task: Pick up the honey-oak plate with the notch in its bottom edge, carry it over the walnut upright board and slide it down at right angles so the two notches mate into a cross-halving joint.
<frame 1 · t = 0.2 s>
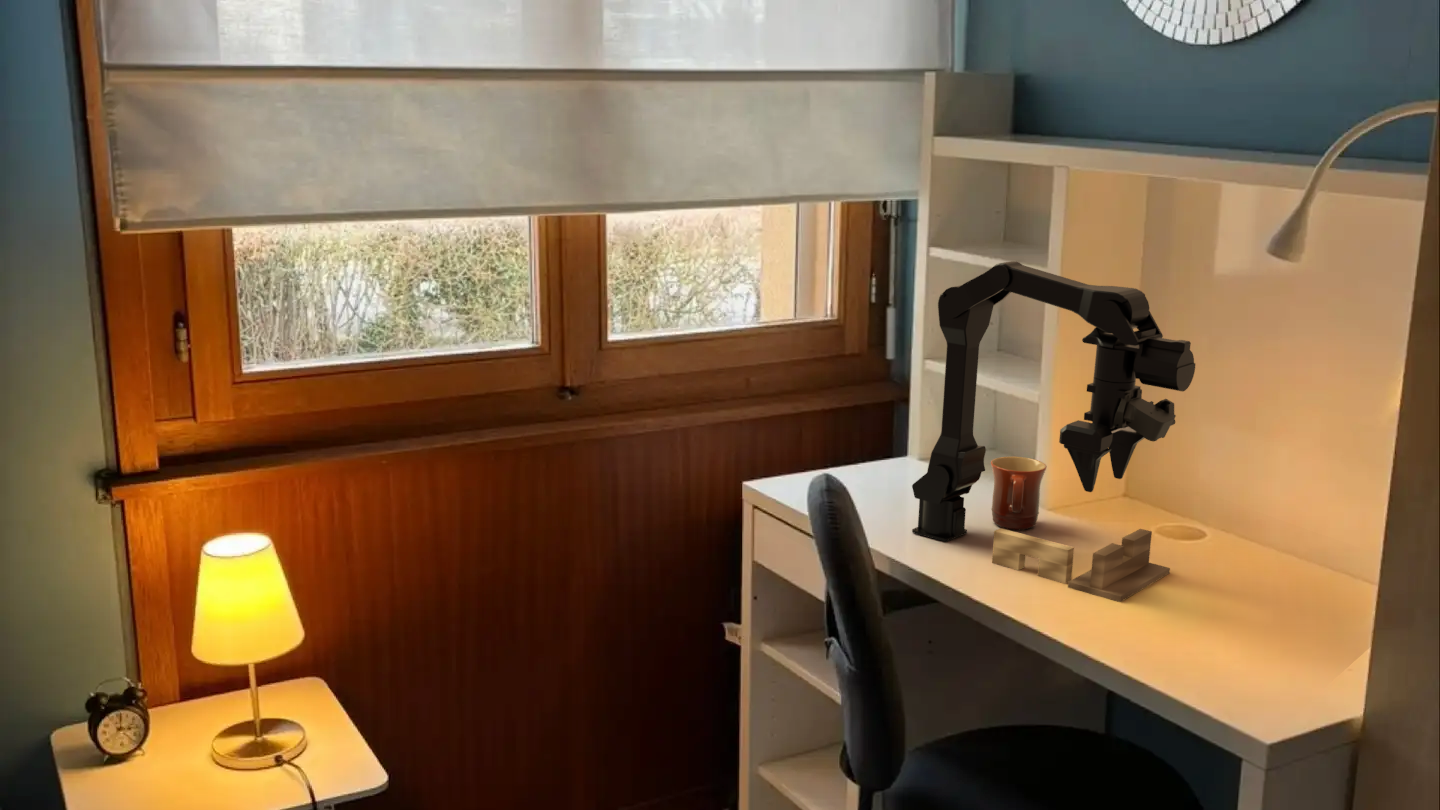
hand: (1103, 484, 198), 14 cm above the table, fingers open, 9 cm apart
joint base: (1119, 579, 200), on the table
oak plate: (1030, 571, 203), on the table
mug: (1013, 529, 222), on the table
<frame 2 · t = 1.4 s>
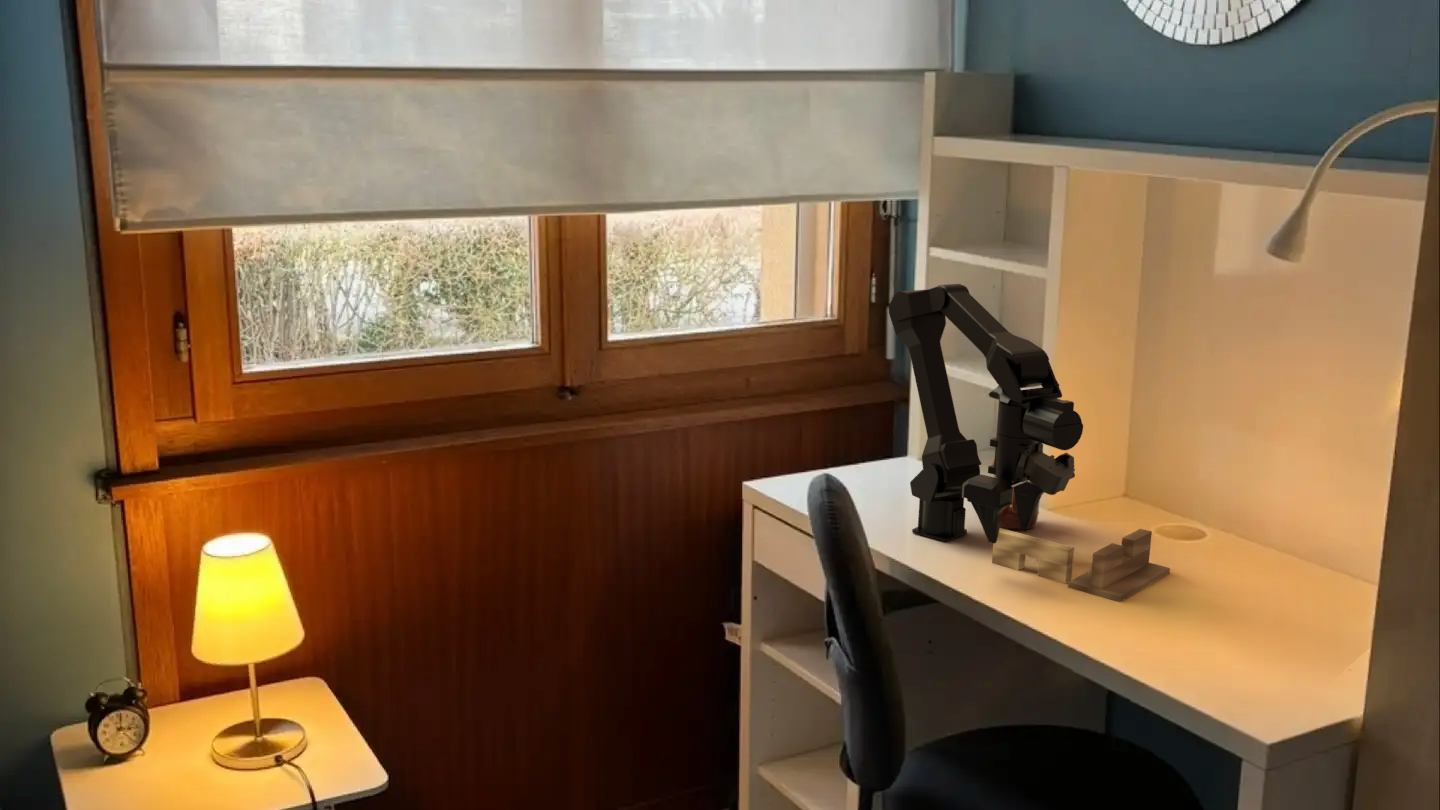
hand: (1008, 535, 204), 5 cm above the table, fingers open, 9 cm apart
nothing on the table moved.
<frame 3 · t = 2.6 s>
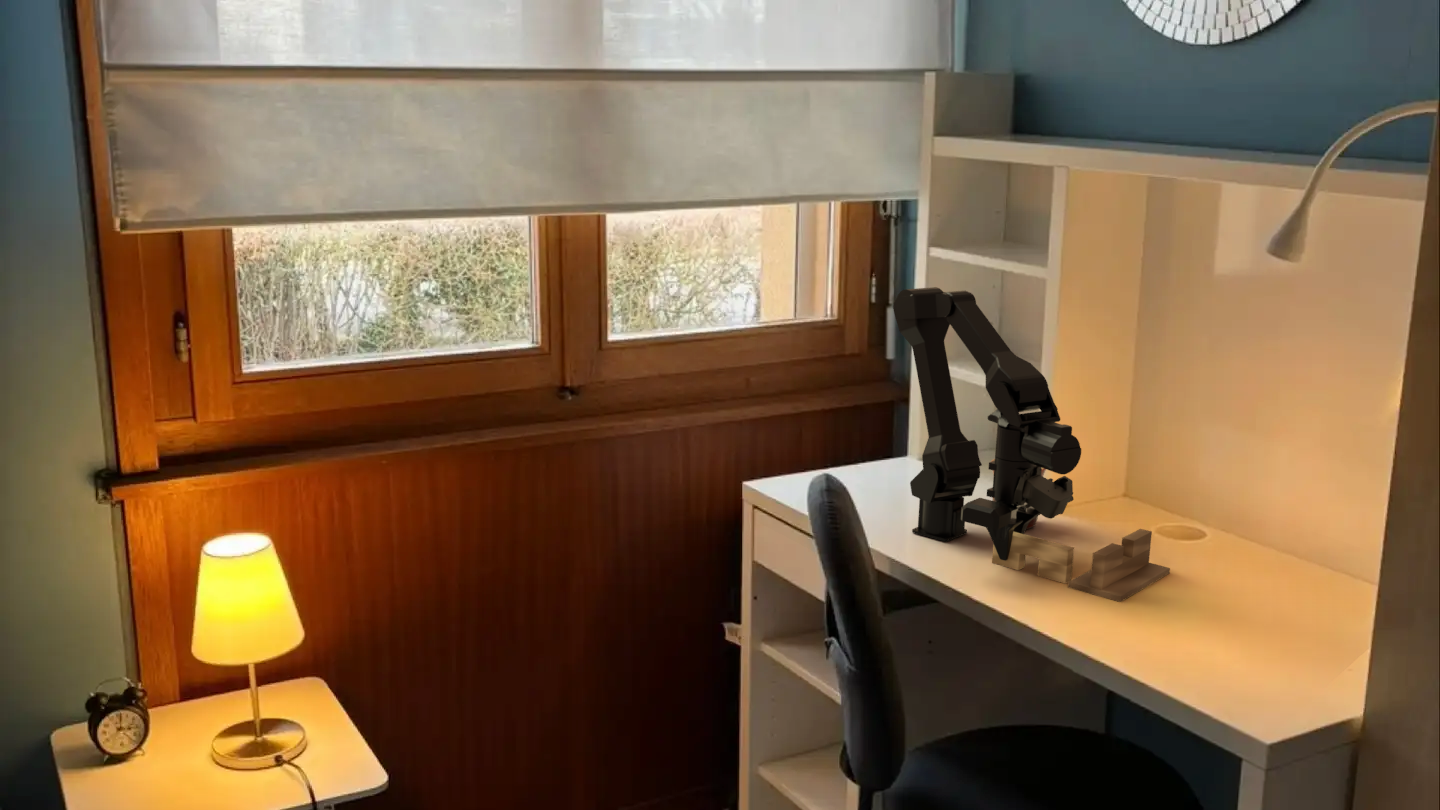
hand: (1007, 558, 205), 1 cm above the table, fingers closed on oak plate, 2 cm apart
oak plate: (1030, 571, 203), on the table, touching gripper
everything else where it was.
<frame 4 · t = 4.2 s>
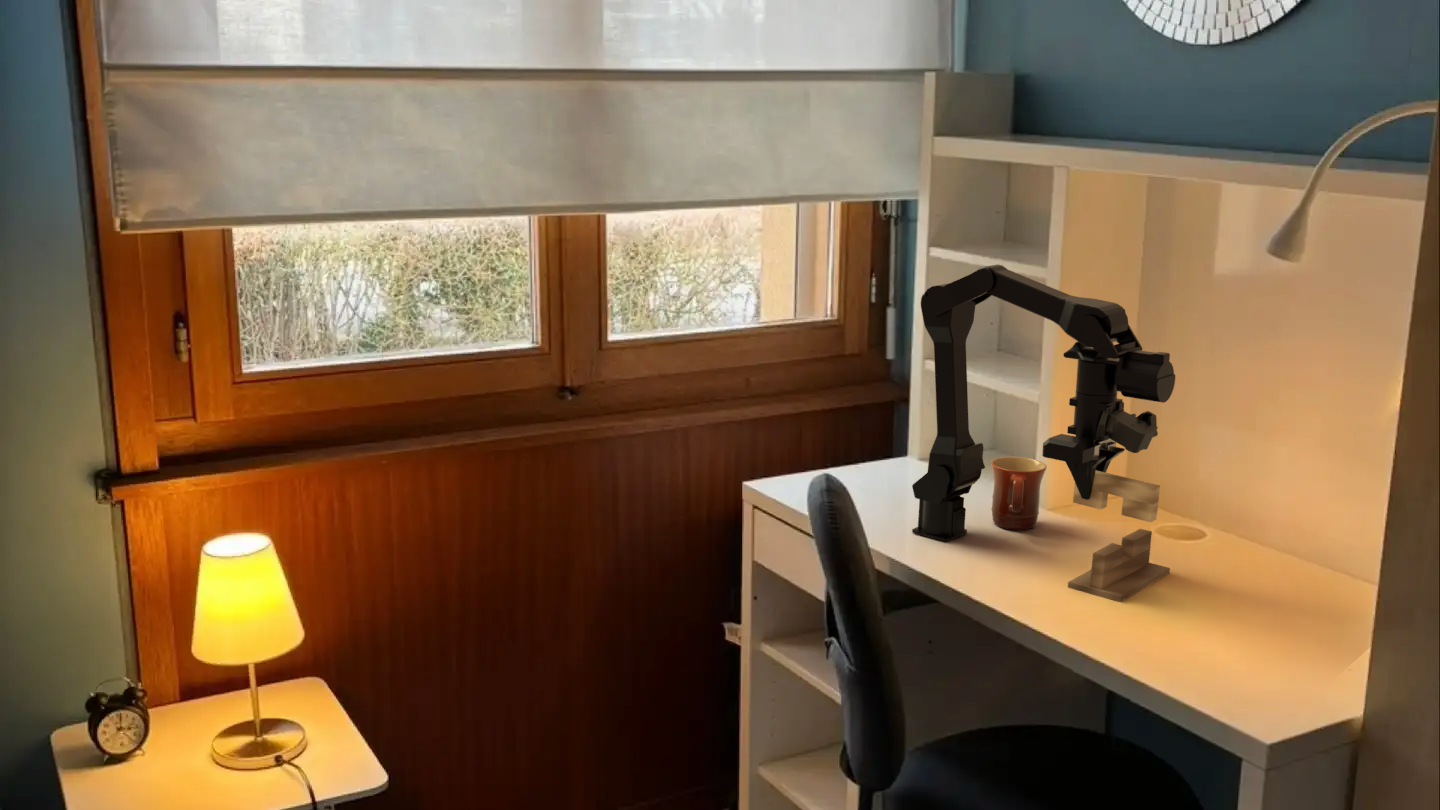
hand: (1089, 497, 200), 12 cm above the table, fingers closed on oak plate
oak plate: (1113, 510, 197), point 10 cm above the table, touching gripper
everything else where it was.
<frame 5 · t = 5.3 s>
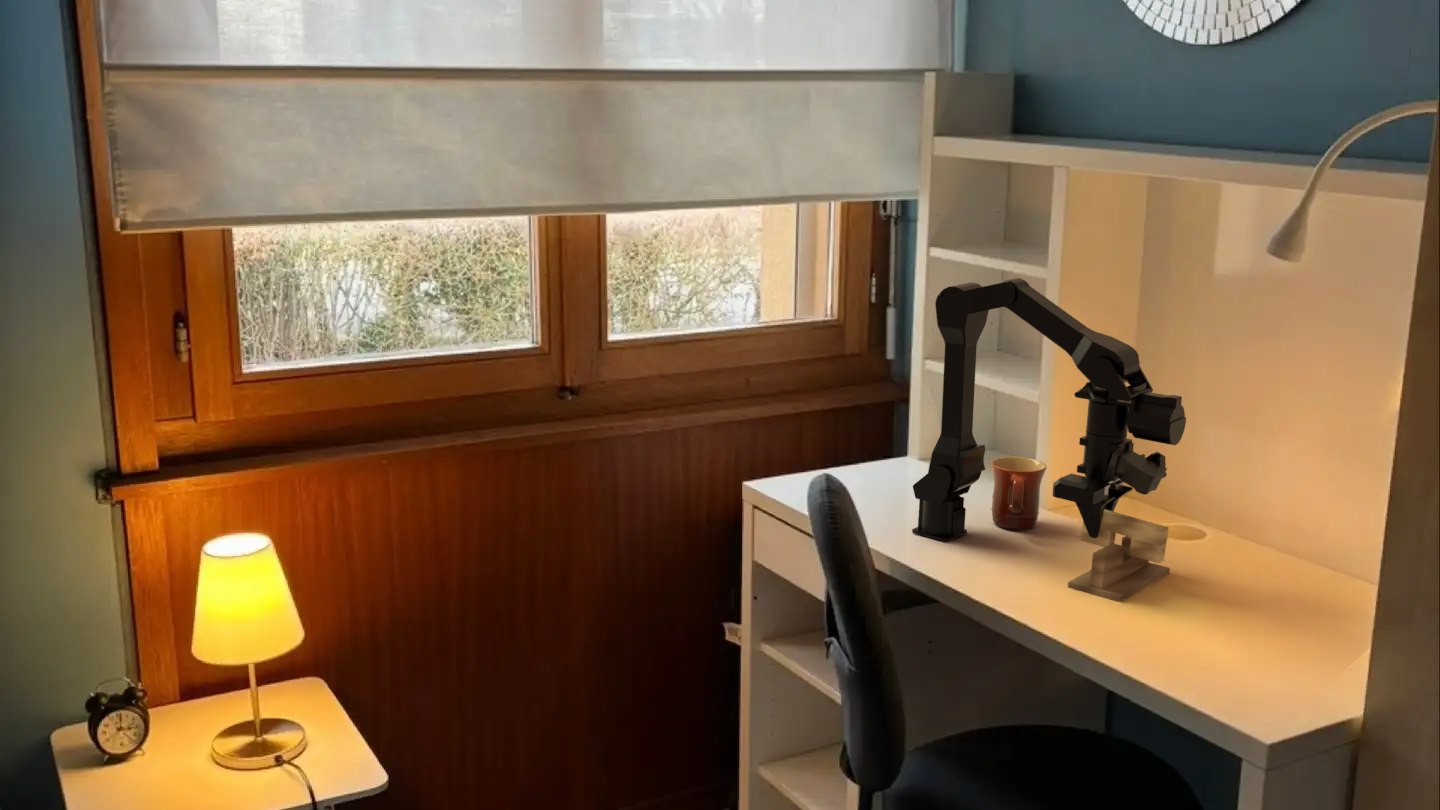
hand: (1096, 535, 201), 6 cm above the table, fingers closed on oak plate
oak plate: (1121, 550, 199), point 5 cm above the table, touching gripper
everything else where it was.
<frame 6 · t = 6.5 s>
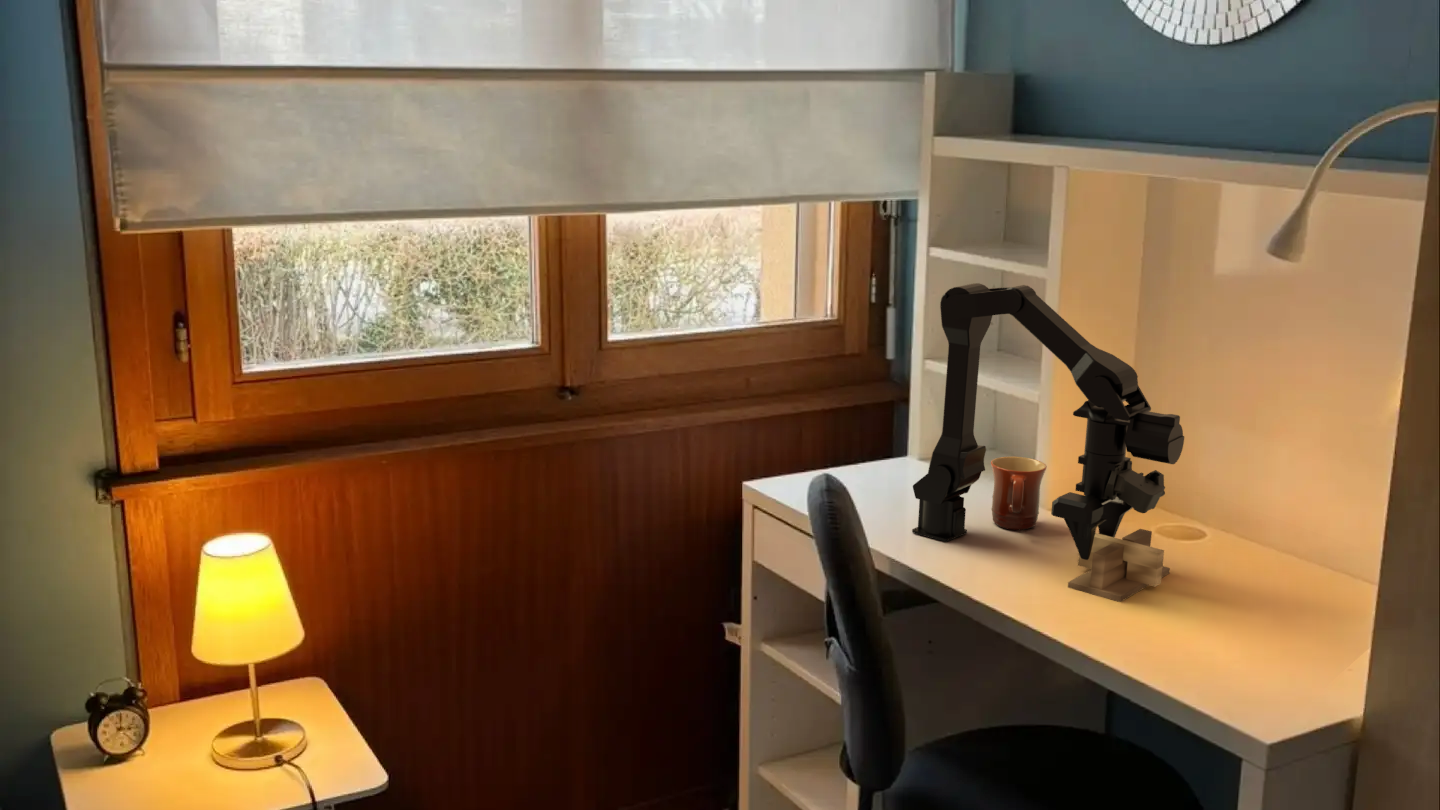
hand: (1095, 553, 202), 3 cm above the table, fingers open, 6 cm apart
oak plate: (1118, 574, 200), point 1 cm above the table, touching joint base
everything else where it was.
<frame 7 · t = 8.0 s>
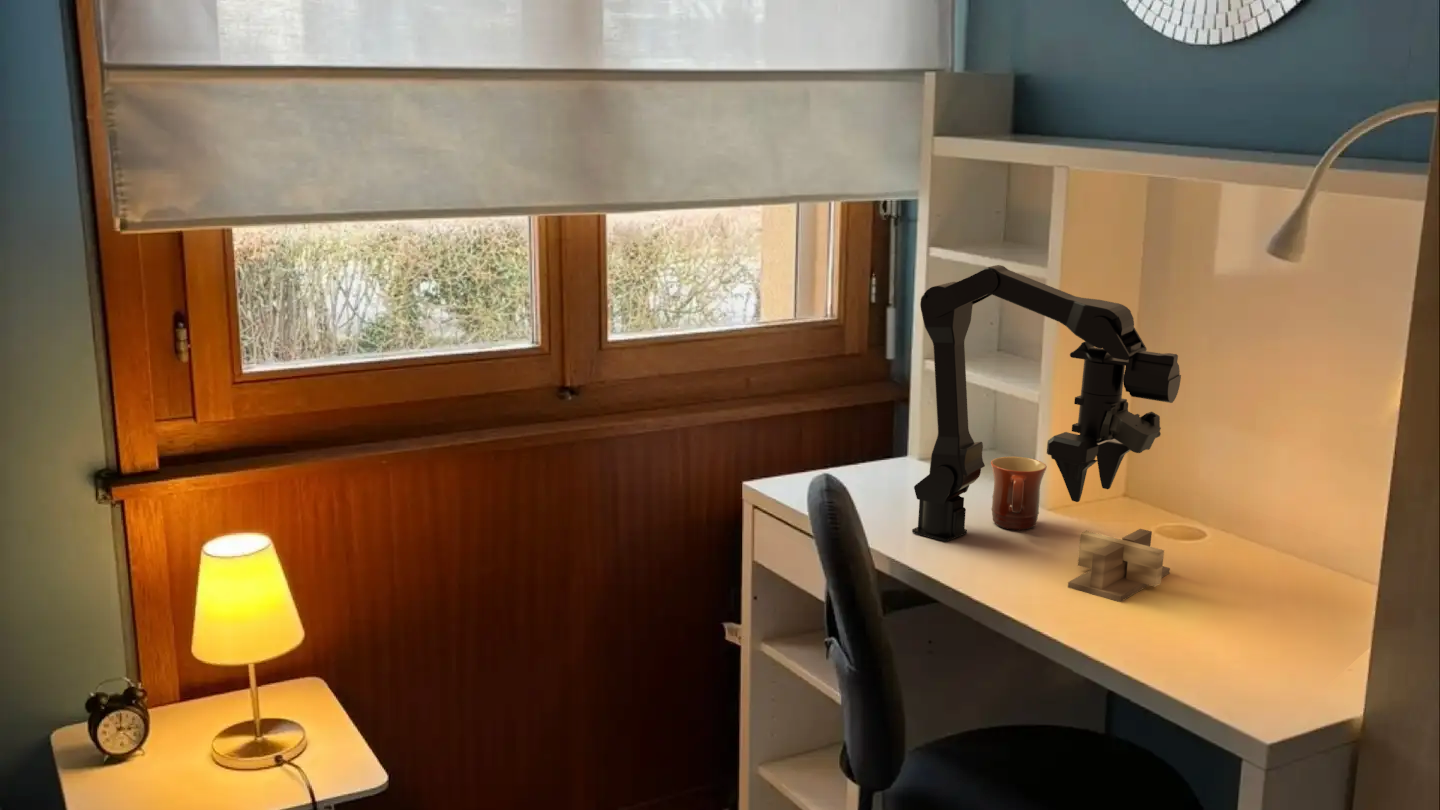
hand: (1090, 494, 203), 11 cm above the table, fingers open, 9 cm apart
nothing on the table moved.
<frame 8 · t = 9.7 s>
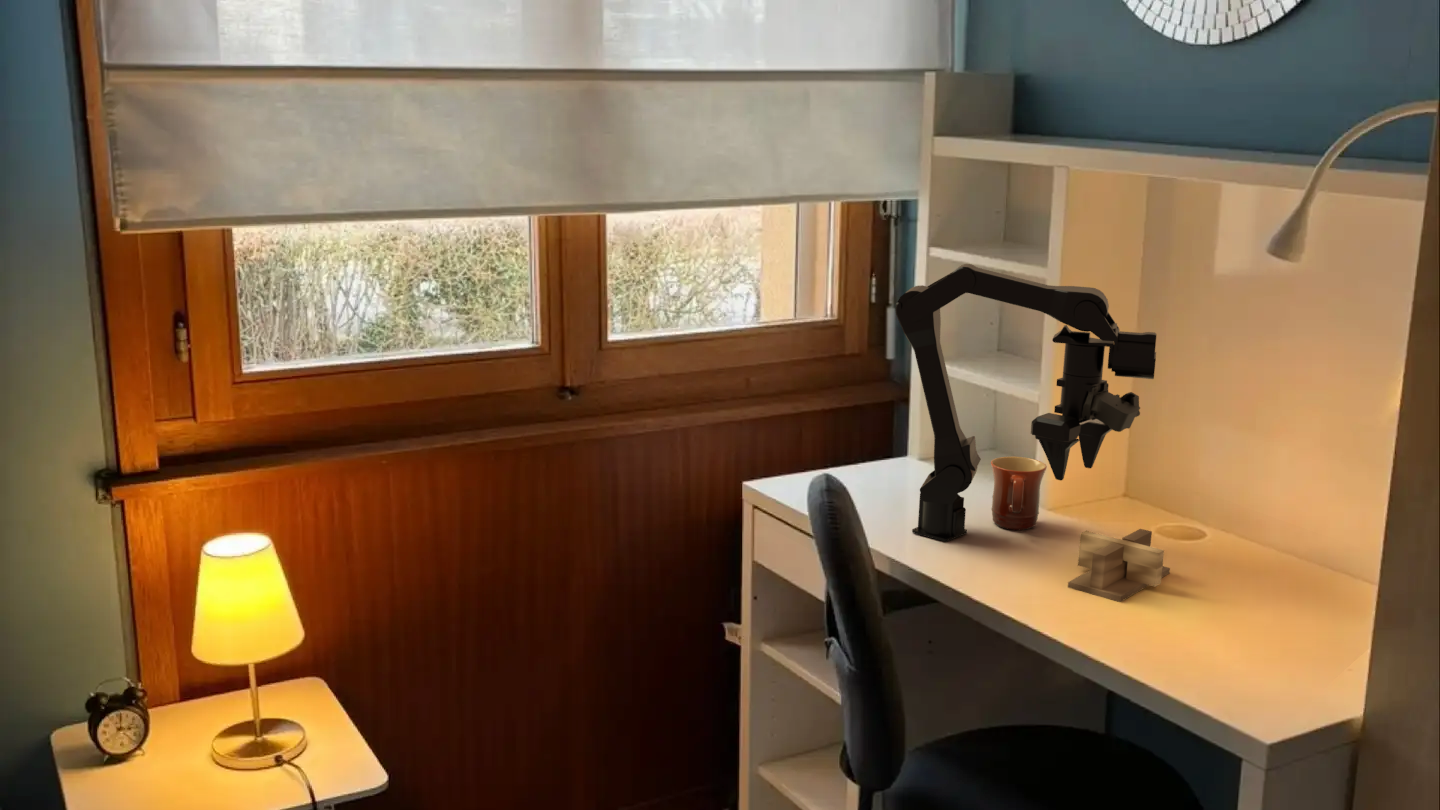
hand: (1074, 473, 210), 12 cm above the table, fingers open, 9 cm apart
nothing on the table moved.
at the end: oak plate 0.2 cm off-centre on the joint base, point 0.8 cm above the joint base's base; oak plate tilted 0°; the gripper is holding nothing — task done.
